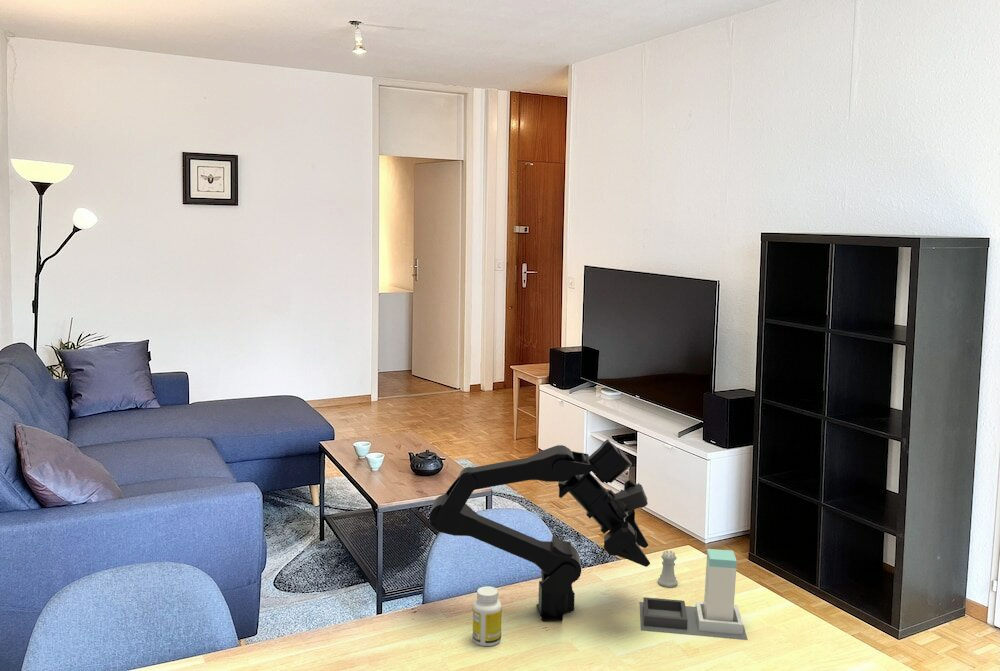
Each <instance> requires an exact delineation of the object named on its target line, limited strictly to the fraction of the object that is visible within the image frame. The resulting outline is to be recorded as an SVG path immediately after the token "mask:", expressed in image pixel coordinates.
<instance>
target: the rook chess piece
mask: <svg viewBox="0 0 1000 671" xmlns="http://www.w3.org/2000/svg"><path fill="white" fill-rule="evenodd" d="M661 559H662V563H661V564H662V568H661V569H662V570H661V574H660V575H659V577H658V578H657V583H658V584H659V585H660V586H661V587H664V588H674V587H676V586H678V584H679V583H678V580H677V577H676V576H675V566H676V564H675V563H676V562H675V561H676V560H677V556H676V553H675V551H671V550H670V551H669V550H664V551H663V552H662V554H661Z"/></svg>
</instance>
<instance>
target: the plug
mask: <svg viewBox="0 0 1000 671" xmlns="http://www.w3.org/2000/svg"><path fill="white" fill-rule="evenodd" d="M705 563H706V564H705V565H706V566H705V581H704V582H705V583H704V597H703V598H704V599H703V602H704V613H703V616H704V619H705V620H716V621H728V622H733V613H734V605H735V595H736V594H735V593H736V580H737V566H738V565H737V564H738V560H737V558H736V555H735V552H734V550H731V549H730V550H729V549H728V550H727V549H713V548H707V550H706V562H705Z"/></svg>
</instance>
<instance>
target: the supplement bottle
mask: <svg viewBox="0 0 1000 671" xmlns="http://www.w3.org/2000/svg"><path fill="white" fill-rule="evenodd" d="M476 593H477V594H476V598H477V599H476V600H475V601H473V605H472V606H473V607H472V640H473V642H474V643H475V644H476V645H479V646H483V647H493V646H495V645H498V644H499V643H501V640H502V616H503V614H502V613H503V611H502V607H503V606H502V603H501V601H500V600H499V589H498V588H496V587H494V586H482V587H481V586H480V587H479V588H478V589H477V591H476Z"/></svg>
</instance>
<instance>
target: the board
mask: <svg viewBox="0 0 1000 671" xmlns="http://www.w3.org/2000/svg"><path fill="white" fill-rule="evenodd" d="M642 599H643V601H640V602H639V619H640V621H639V622H640V623H639V625H640V626H639V627H640V631H642V632H643V631H644V632H652V633H653V632H654V633H665V634H675V635H676V634H677V635H687V636H698V637H699V636H700V637H709V638H717V639H718V638H720V639H729V640H730V639H731V640H732V639H733V640H742V641H748V640H749V639H748V636H747V633H746V629H745V626H744V623H743V619H742V615H741V613H740V610H739V606H738V605H737V604H734V613H733V622H728V621H716V620H705V619H704V616H703V613H704V601H702V602H701V601H695V606H690V605H686V603H685V600H683V599H682V600H680V599H679V600H678V599H671V598H669V599H668V598H658V597H644V596H643V598H642Z"/></svg>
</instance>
